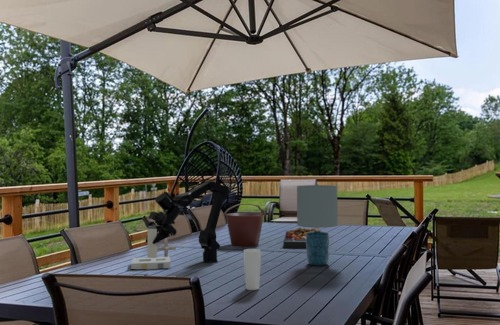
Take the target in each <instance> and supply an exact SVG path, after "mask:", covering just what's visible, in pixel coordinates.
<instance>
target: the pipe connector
mask: <svg viewBox="0 0 500 325" xmlns="http://www.w3.org/2000/svg"><path fill="white" fill-rule="evenodd" d="M168 240H169V238H165V239H163V241H164V244H163V246H159V247H158V246H157V252H159V251H161V252H162V251H163V253H164V256H163V257H169V251H176V250H177V247H176V246H177V245H174V246H168V245H169V242H168Z"/></svg>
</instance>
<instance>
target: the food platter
mask: <svg viewBox="0 0 500 325" xmlns="http://www.w3.org/2000/svg"><path fill="white" fill-rule="evenodd" d="M311 231H315V228H311V229H310V228H306V227H303V228H302V227H298V228H295V229H291V230H285V235H284V238H283V244H282V245H283V247H282V248H283V249H306V233H307V232H311Z"/></svg>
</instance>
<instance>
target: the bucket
mask: <svg viewBox="0 0 500 325" xmlns="http://www.w3.org/2000/svg"><path fill="white" fill-rule="evenodd" d="M239 206H254V207H257V208H258V210H259V211H260V212H231V213H228V212H229V211H230V210H232V209H233V208H236V207H239ZM265 212H266V211H265V210H264V209H263V208H261V206H260V205H259V204H253V203H238V204H235V205H232V206H231V207H229V208H227V209H226V210H225V211H224V216H225V217H226V218H225V219H226V224H227V229H228V234H229V239H230V240H229V241H230V245H231V246H232V247H237V248H248V247H250V248H251V247H256V246H258V245H259V243H260V238H261V231H262V229H263V228H262V227H263V226H262V225H263V222H264V214H265Z"/></svg>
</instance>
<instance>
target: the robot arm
mask: <svg viewBox="0 0 500 325" xmlns="http://www.w3.org/2000/svg"><path fill="white" fill-rule="evenodd" d="M207 192H211V193H212V194H211V196H212V203H211V204H212V205H211V209H210V211H209V214H208V219H207V222H206V225H205V227H204V229H203V230H201V229H200V232H199V235H198V237H197V238H198V243H199V245H200V247H201V249H202V250H203V252H202V261H203V262H204V263H218V251H219V250H220V248H221V245H220V243H219V242H218V241H217V232H216V228H217V224H218V221H219V218H220V214H221V210H222V206H223V204H224V203H225V201H226V200H227V199H228V196H229V194H230V188H229V186H228V185H226V184H220V183H217V182H214V181H213V180H206V181H204V182H203V183H202V184H200V185H198V186H196V187H194V188H193V189H191V190H190V191H188V192H184V193H180V194H177V195H175V196H174V197H172V196H171V195H170V194H169V193H168V192H167V191H163V192H162V193H161V194H159V195H157V197H156V198H155V200H154V201H155V203H156V204H157V205H158V206H159V207H160V209H162V210H163V211H165V212H163V211H158V212H157V211H150V212H149V215H148V219H149V221H146V223H145V224H144V226H145V227H146V228H147V229H148V226H156V228H157V236H156V237H155V239H154V241H153V242H152V243H153V244H156V243H157V244H158V243H159V242H161V241H164V239H168V238H170V237H175V236H176V235H177V229H176V228H175V227H174V226H173V225H175V224H176V223H175V221H176V220H177V218H178V216H184V215H185V213H184V209H181V208H188V207H189V206H190V205H191V204H192V203H193V202H194V200H195V199H197V198H198V197H200V196H202V195H203V194H205V193H207ZM151 220H153V221H151ZM145 243H146V244H148V234H147V236H146V238H145Z"/></svg>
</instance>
